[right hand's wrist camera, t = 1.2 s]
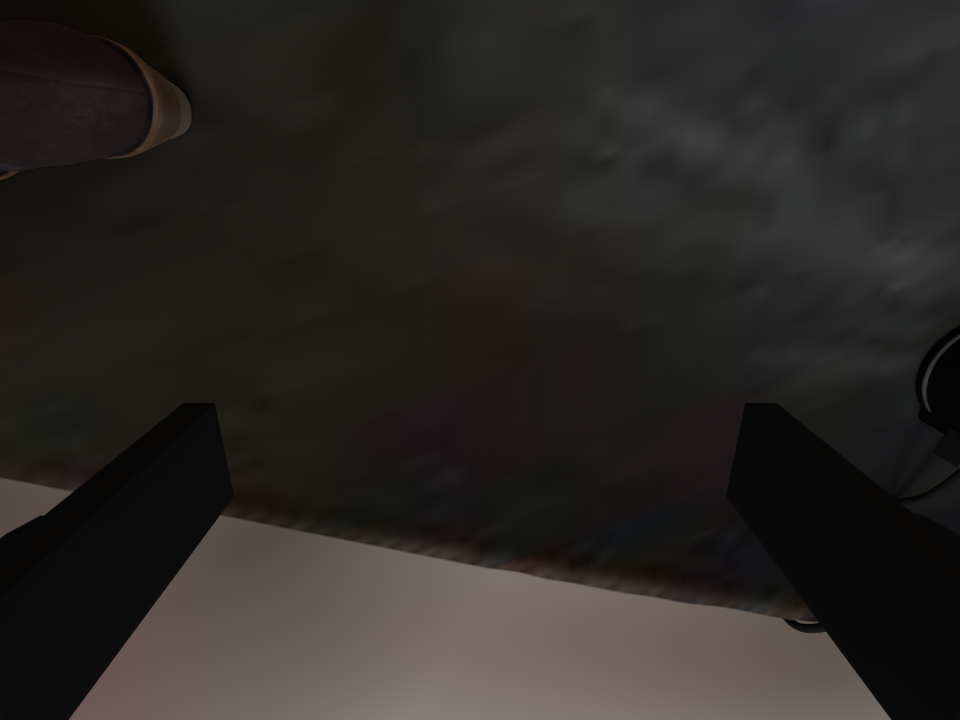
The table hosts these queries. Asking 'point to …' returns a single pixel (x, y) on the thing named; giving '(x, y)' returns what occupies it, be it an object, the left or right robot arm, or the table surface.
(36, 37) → the boot
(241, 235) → the table surface
